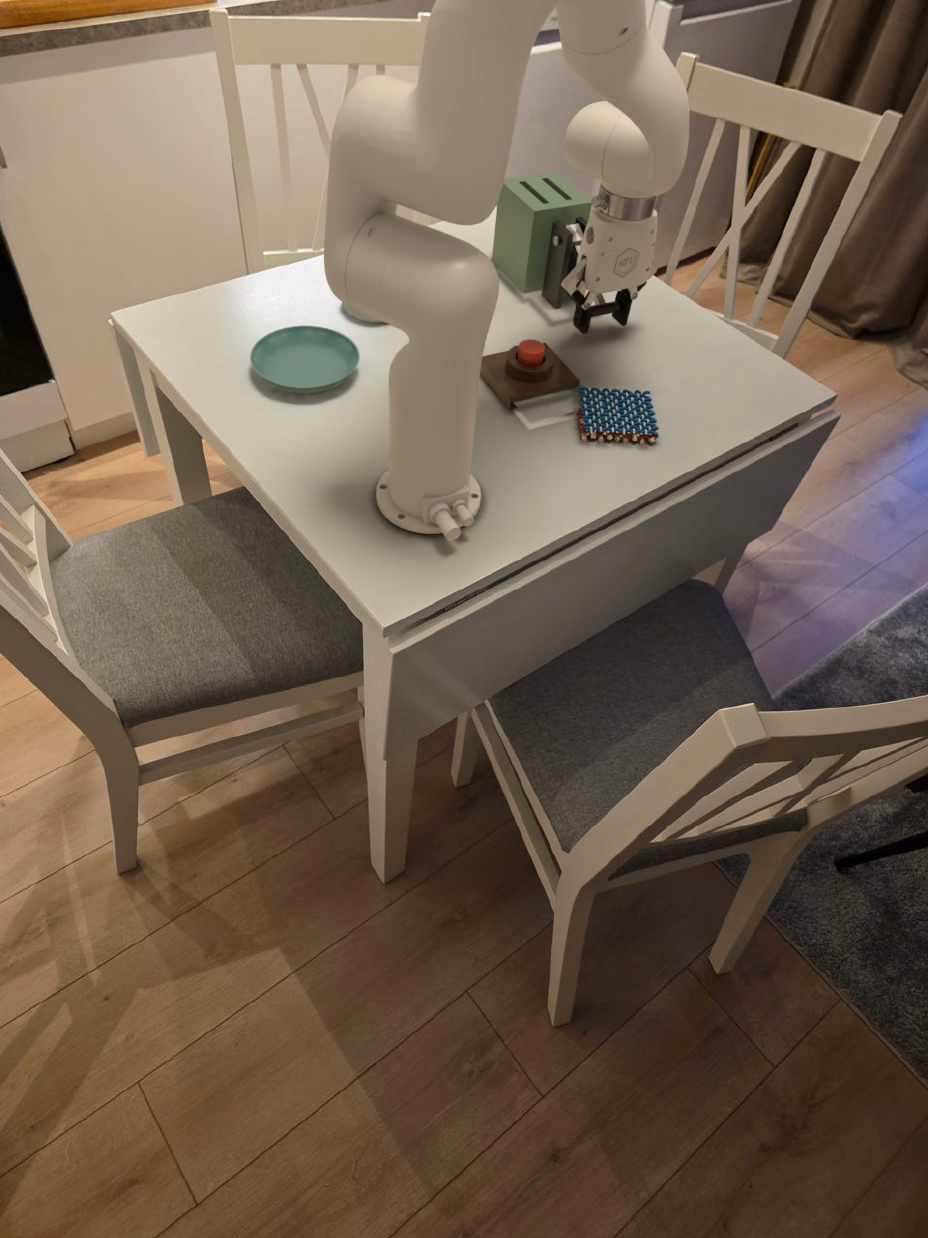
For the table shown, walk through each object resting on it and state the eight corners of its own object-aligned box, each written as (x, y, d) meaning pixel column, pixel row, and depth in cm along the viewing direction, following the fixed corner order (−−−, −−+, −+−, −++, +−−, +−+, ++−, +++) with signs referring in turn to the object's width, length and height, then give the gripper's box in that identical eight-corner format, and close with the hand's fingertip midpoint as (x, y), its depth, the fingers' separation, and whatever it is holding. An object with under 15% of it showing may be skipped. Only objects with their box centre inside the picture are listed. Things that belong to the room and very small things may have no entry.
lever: (618, 314, 122) (625, 305, 119) (584, 322, 120) (591, 312, 117) (583, 231, 123) (589, 221, 121) (548, 237, 121) (554, 226, 119)
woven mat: (572, 394, 115) (574, 382, 113) (646, 399, 115) (650, 387, 114) (578, 442, 108) (580, 429, 106) (657, 447, 109) (661, 434, 107)
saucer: (230, 367, 113) (227, 350, 111) (315, 330, 120) (314, 313, 118) (297, 417, 107) (295, 400, 105) (381, 375, 114) (381, 359, 112)
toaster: (576, 290, 133) (592, 201, 122) (522, 300, 130) (534, 210, 119) (542, 258, 139) (555, 171, 128) (490, 267, 136) (499, 178, 125)
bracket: (595, 315, 129) (612, 233, 119) (551, 324, 126) (565, 242, 116) (569, 289, 133) (583, 209, 123) (526, 298, 130) (537, 217, 121)
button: (547, 363, 113) (550, 350, 111) (525, 369, 112) (526, 355, 110) (535, 350, 115) (537, 336, 113) (512, 355, 113) (514, 341, 112)
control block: (577, 393, 115) (583, 368, 112) (509, 410, 111) (512, 385, 108) (543, 355, 120) (547, 330, 117) (476, 370, 117) (478, 345, 114)
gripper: (585, 222, 103) (562, 349, 117) (696, 204, 109) (661, 327, 122) (555, 196, 107) (536, 322, 121) (663, 180, 113) (633, 302, 126)
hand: (599, 324), depth 121 cm, fingers closed on lever, 6 cm apart
